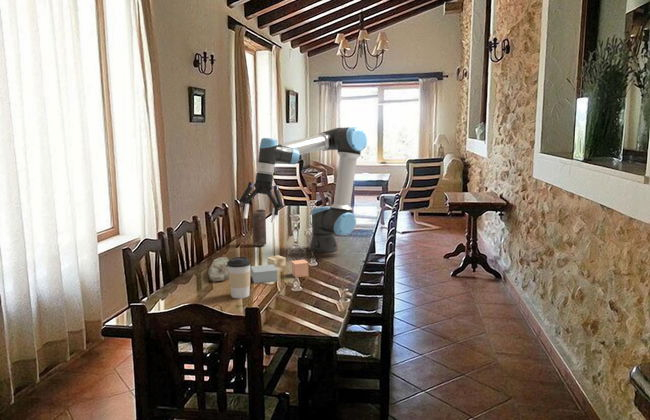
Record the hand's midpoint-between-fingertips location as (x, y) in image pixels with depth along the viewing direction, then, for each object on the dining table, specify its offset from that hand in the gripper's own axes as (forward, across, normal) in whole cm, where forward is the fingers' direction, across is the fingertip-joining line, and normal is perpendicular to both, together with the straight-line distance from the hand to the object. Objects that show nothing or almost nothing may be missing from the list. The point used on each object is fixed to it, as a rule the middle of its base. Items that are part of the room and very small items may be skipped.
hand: (259, 220), depth 218 cm
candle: (+18, -20, +49) cm, 56 cm away
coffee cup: (+28, +9, -28) cm, 41 cm away
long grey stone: (+26, -16, -1) cm, 31 cm away
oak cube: (+22, +9, +7) cm, 25 cm away
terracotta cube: (+21, +22, +3) cm, 30 cm away
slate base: (+24, +9, -6) cm, 27 cm away
